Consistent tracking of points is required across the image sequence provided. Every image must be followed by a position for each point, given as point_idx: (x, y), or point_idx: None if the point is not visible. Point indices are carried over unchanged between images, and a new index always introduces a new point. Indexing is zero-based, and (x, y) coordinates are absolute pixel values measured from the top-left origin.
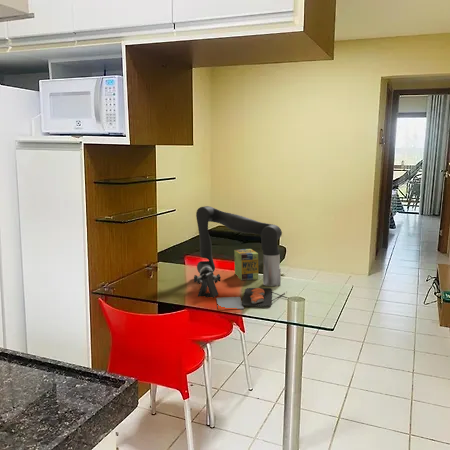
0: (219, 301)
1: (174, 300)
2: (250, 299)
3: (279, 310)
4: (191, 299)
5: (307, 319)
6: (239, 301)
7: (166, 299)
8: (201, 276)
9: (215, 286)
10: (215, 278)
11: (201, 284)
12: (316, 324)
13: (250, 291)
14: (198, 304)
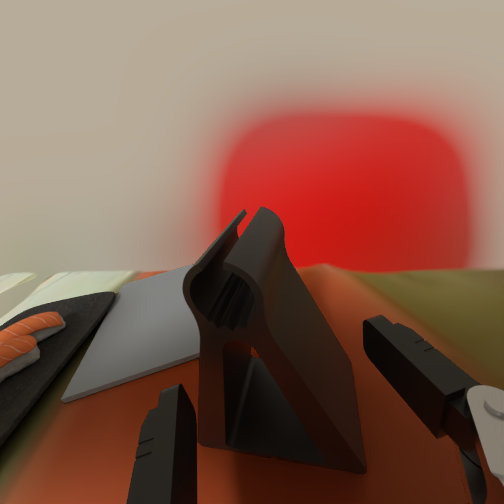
0: None
1: (431, 279)
2: (32, 372)
3: (21, 307)
4: (352, 310)
5: (11, 284)
6: (106, 330)
7: (494, 277)
8: (501, 488)
9: (199, 397)
10: (161, 441)
11: (305, 289)
12: (20, 273)
13: None
14: None
